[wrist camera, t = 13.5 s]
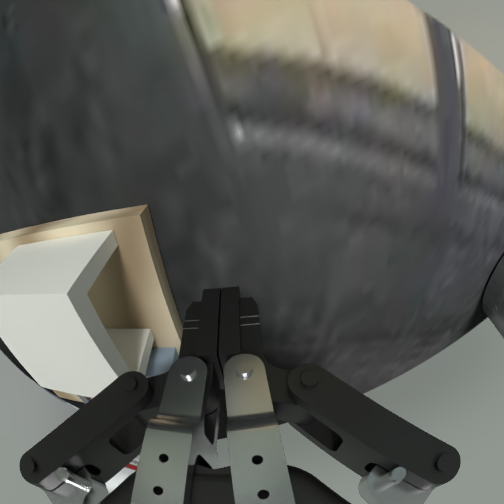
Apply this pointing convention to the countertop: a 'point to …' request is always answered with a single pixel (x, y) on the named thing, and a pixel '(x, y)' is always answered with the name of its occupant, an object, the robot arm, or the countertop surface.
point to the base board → (121, 279)
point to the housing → (65, 316)
